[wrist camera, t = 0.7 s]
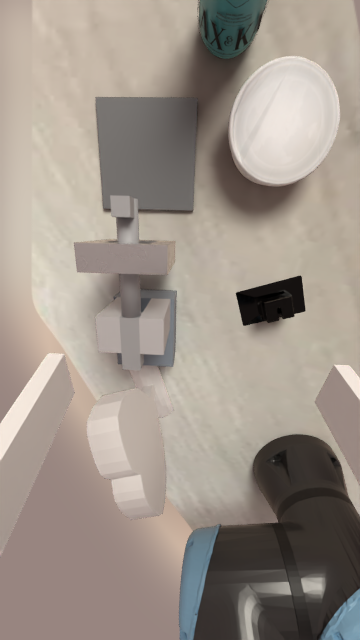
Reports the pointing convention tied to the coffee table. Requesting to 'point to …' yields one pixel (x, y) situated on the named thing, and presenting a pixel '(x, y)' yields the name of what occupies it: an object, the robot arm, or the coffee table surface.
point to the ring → (125, 257)
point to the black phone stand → (271, 301)
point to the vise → (136, 308)
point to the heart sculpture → (133, 443)
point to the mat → (148, 150)
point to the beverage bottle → (229, 25)
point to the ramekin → (283, 121)
